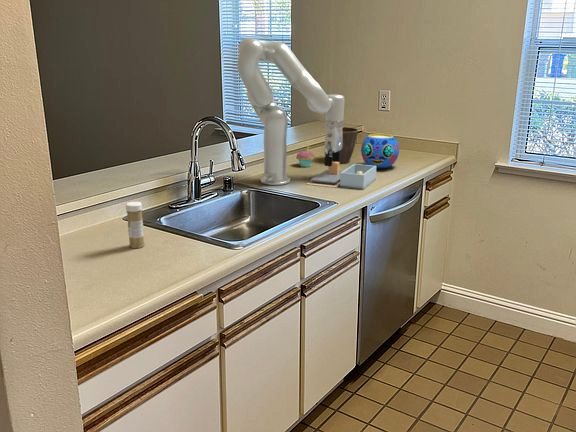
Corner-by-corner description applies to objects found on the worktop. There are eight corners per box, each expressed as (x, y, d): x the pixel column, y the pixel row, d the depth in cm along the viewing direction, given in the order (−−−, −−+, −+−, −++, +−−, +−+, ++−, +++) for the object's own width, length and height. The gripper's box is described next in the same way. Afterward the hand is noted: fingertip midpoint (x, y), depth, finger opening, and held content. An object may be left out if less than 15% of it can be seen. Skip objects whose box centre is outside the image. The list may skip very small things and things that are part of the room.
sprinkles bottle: (130, 243, 180) (127, 201, 176) (145, 243, 181) (142, 200, 177) (128, 249, 176) (124, 205, 172) (143, 248, 177) (140, 205, 172)
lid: (335, 185, 244) (335, 170, 242) (310, 183, 249) (310, 167, 246) (349, 175, 261) (350, 160, 259) (326, 173, 265) (326, 158, 263)
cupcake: (317, 165, 282) (317, 140, 278) (308, 168, 275) (308, 143, 272) (301, 163, 286) (302, 138, 283) (292, 166, 280) (292, 141, 276)
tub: (363, 189, 240) (363, 175, 238) (340, 186, 244) (340, 172, 242) (375, 179, 256) (376, 165, 254) (353, 177, 259) (354, 163, 258)
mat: (336, 187, 242) (336, 186, 242) (306, 184, 248) (306, 183, 247) (352, 176, 262) (352, 175, 261) (325, 173, 267) (325, 172, 267)
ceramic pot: (357, 170, 272) (358, 138, 267) (364, 162, 288) (365, 131, 283) (395, 172, 267) (397, 140, 262) (400, 164, 283) (402, 133, 279)
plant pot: (335, 157, 299) (336, 125, 294) (362, 161, 291) (363, 128, 286) (320, 162, 287) (321, 130, 282) (347, 166, 279) (348, 133, 274)
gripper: (335, 127, 242) (333, 168, 247) (349, 122, 257) (346, 161, 262) (318, 126, 245) (316, 166, 250) (332, 121, 260) (330, 159, 265)
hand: (332, 163), depth 256 cm, fingers open, 9 cm apart
